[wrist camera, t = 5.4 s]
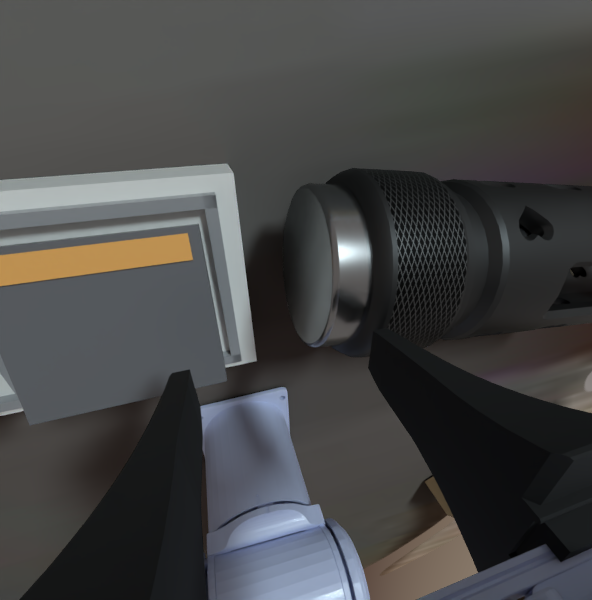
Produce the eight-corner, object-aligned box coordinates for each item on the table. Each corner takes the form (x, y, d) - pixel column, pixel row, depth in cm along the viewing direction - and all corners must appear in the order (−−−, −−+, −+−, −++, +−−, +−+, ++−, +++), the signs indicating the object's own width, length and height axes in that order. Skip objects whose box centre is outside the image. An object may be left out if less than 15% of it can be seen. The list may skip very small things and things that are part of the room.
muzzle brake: (554, 277, 31) (692, 342, 22) (272, 295, 23) (322, 406, 14) (611, 173, 26) (814, 206, 18) (281, 151, 18) (361, 190, 10)
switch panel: (249, 334, 24) (259, 371, 21) (-157, 413, 19) (-231, 479, 15) (227, 163, 18) (235, 176, 14) (-400, 209, 12) (-615, 246, 9)
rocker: (225, 368, 18) (227, 381, 16) (44, 407, 16) (28, 426, 14) (198, 223, 15) (198, 224, 14) (-19, 248, 13) (-45, 252, 12)
